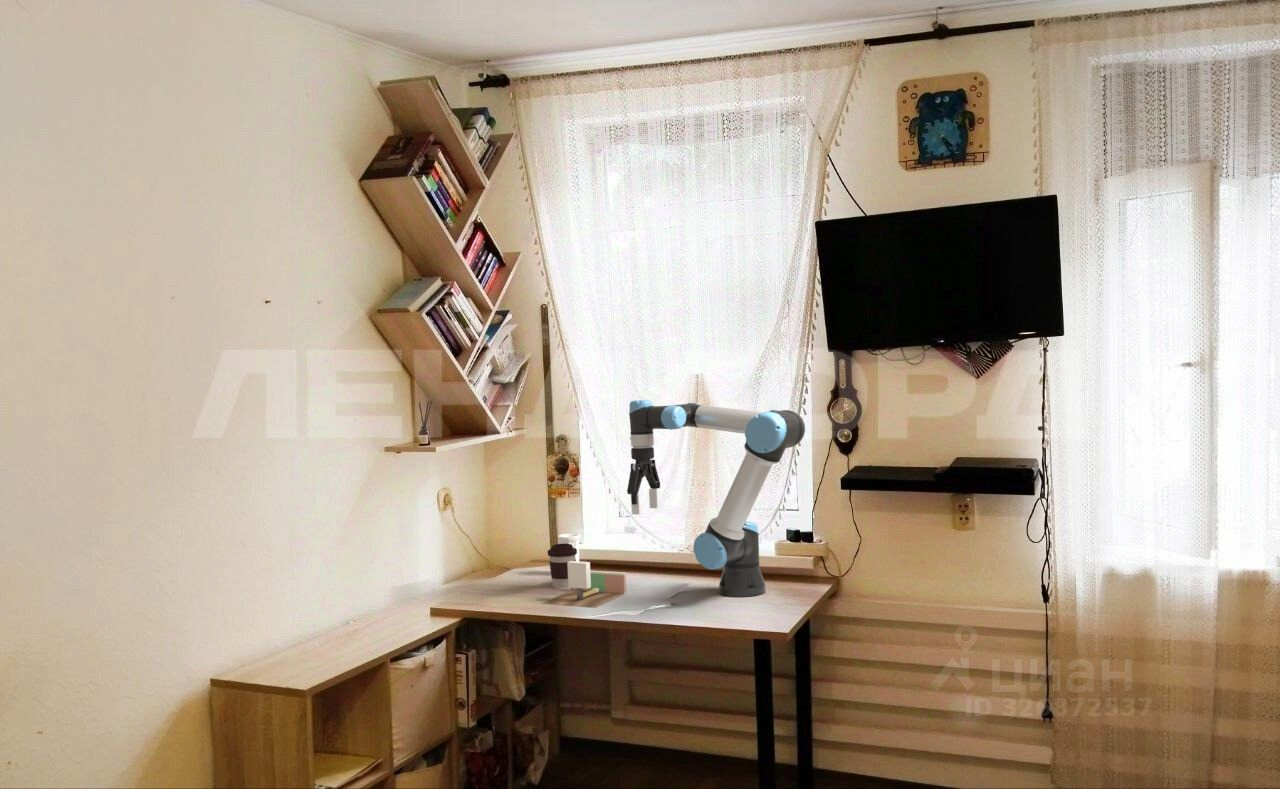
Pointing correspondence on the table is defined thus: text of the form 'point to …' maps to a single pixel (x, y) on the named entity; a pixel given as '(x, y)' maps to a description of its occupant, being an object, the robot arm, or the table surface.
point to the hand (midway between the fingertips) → (645, 511)
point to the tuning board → (588, 601)
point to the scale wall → (607, 582)
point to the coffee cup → (561, 563)
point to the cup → (570, 541)
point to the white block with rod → (580, 578)
